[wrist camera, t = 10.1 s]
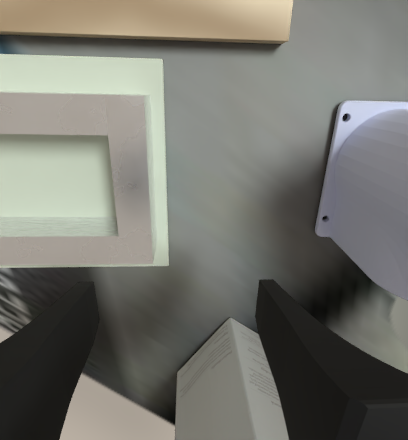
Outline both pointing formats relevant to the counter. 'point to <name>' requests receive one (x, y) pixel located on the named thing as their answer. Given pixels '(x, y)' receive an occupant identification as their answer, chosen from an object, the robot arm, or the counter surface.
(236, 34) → the hook board
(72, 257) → the c link
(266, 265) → the counter surface
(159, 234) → the mat
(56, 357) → the robot arm
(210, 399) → the skincare box
